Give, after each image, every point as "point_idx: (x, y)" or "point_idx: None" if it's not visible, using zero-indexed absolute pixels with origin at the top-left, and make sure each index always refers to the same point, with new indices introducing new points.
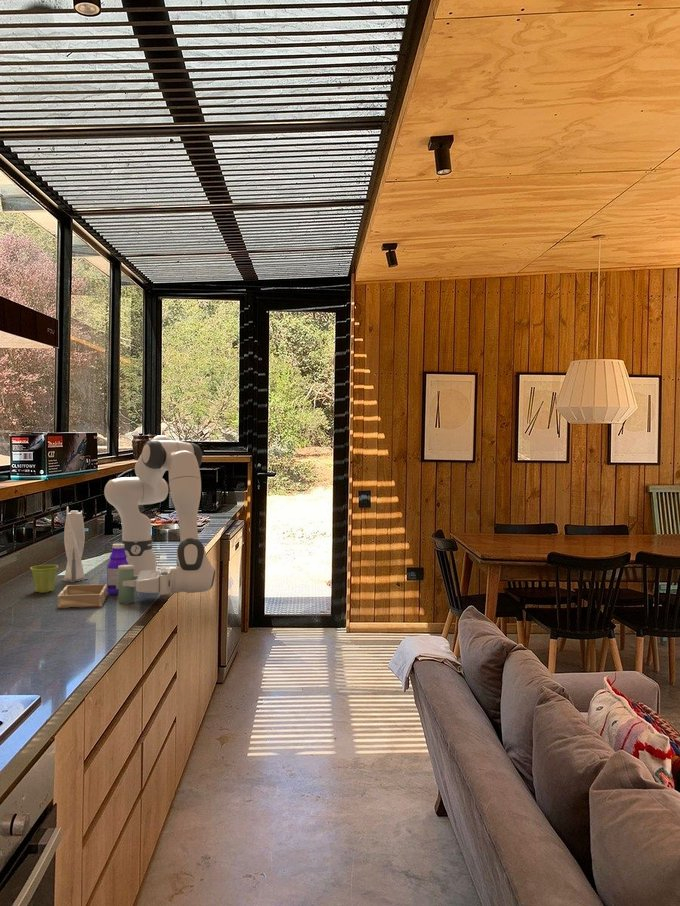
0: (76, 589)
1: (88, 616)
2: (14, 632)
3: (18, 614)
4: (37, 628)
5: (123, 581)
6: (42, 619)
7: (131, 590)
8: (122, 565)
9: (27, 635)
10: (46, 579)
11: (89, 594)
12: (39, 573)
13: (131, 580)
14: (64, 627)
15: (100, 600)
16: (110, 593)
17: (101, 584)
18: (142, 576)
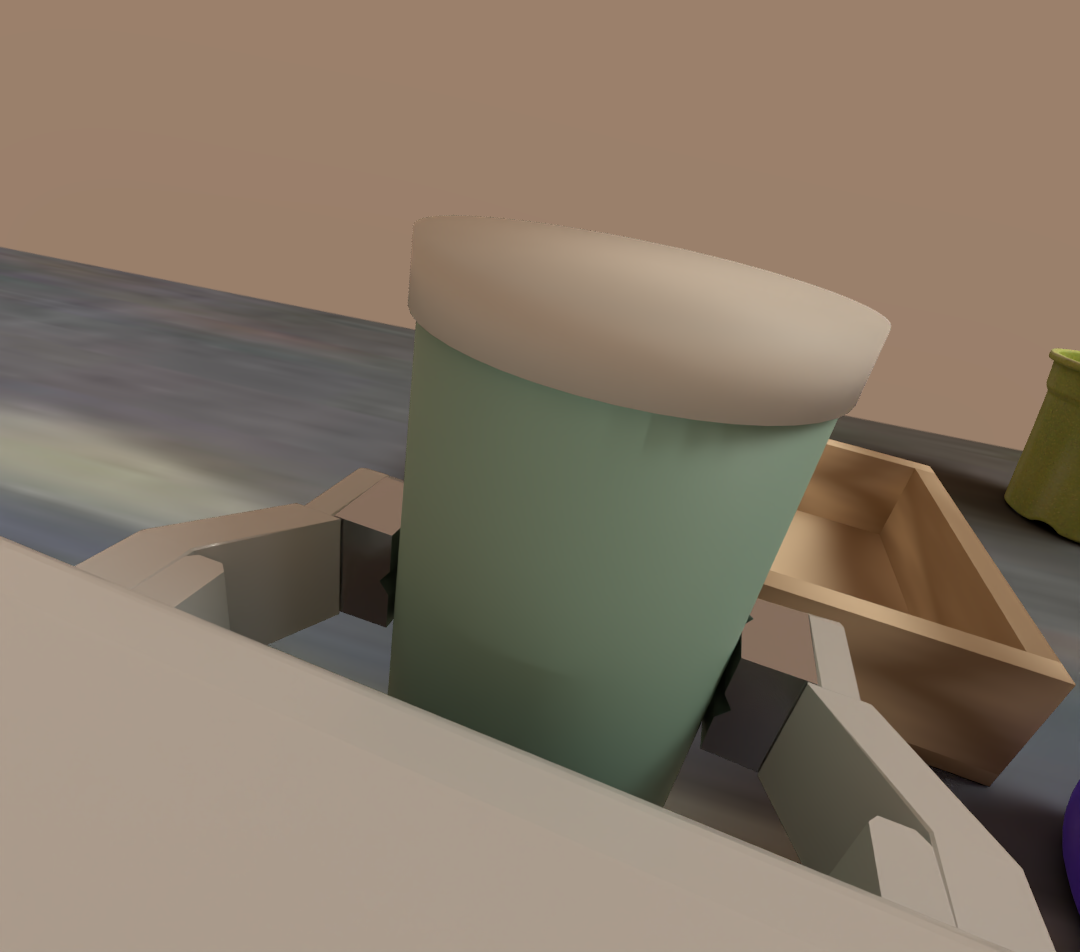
0: (914, 523)
1: (162, 443)
2: (185, 291)
3: None
4: (163, 316)
5: (361, 477)
6: (320, 358)
7: None
8: (754, 273)
9: (86, 286)
10: (1055, 437)
11: None
12: (1048, 382)
13: (226, 528)
14: (44, 340)
15: None
16: (1064, 822)
17: (1027, 628)
18: (116, 766)
